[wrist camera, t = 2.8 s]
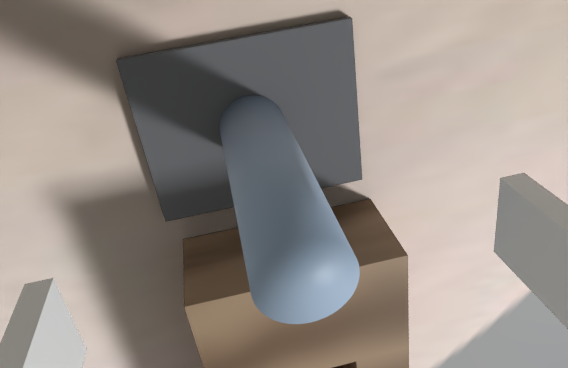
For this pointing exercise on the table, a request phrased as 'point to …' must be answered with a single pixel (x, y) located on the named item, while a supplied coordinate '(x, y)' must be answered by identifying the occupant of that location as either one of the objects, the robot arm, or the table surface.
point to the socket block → (310, 336)
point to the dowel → (283, 218)
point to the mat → (231, 86)
